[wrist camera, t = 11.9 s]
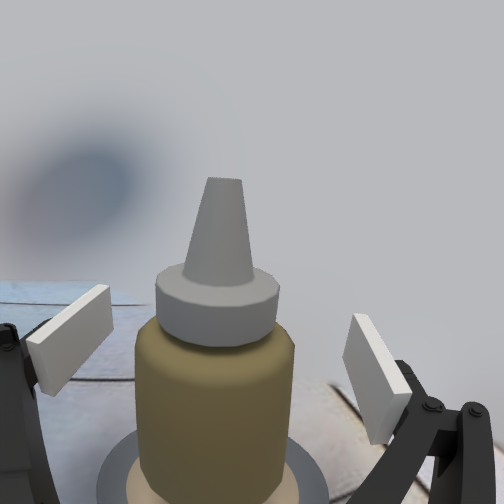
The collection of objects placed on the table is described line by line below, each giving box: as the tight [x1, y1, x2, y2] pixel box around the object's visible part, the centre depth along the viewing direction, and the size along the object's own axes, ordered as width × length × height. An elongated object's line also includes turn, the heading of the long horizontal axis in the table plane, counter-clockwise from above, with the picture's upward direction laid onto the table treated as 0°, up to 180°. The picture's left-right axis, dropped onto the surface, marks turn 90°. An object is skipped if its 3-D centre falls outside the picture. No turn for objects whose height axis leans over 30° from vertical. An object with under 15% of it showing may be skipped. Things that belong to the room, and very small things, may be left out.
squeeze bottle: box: [135, 177, 295, 504], centre depth 13 cm, size 8×8×18 cm
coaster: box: [97, 430, 329, 504], centre depth 15 cm, size 15×15×1 cm
